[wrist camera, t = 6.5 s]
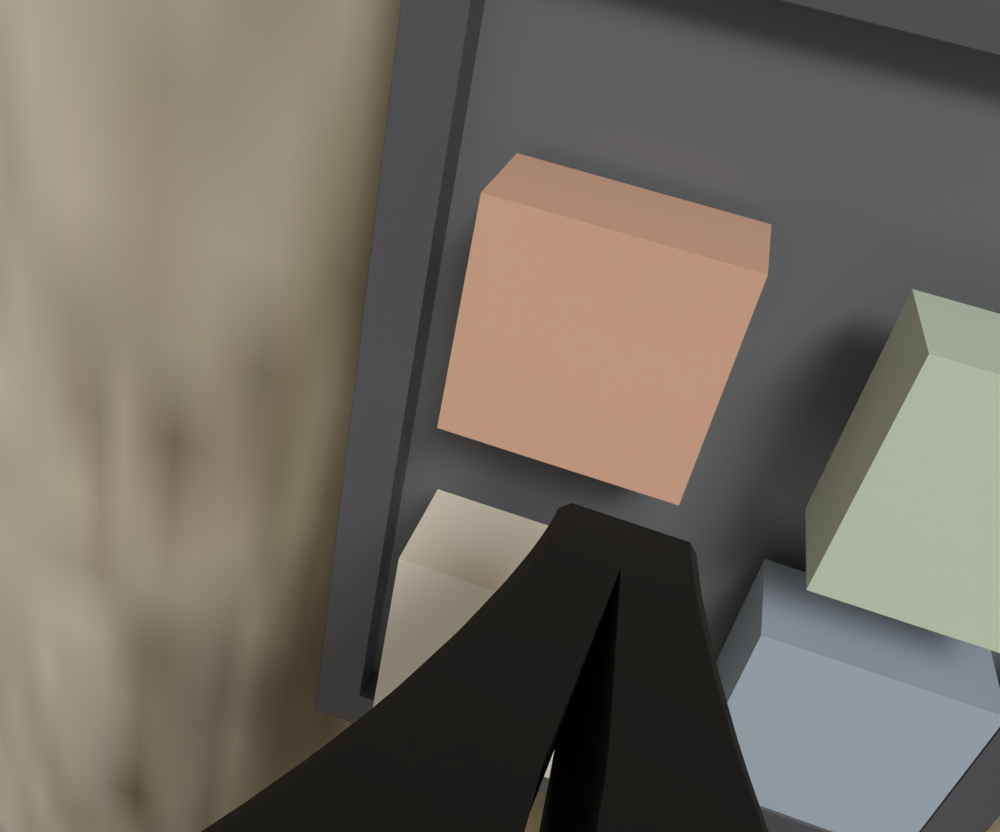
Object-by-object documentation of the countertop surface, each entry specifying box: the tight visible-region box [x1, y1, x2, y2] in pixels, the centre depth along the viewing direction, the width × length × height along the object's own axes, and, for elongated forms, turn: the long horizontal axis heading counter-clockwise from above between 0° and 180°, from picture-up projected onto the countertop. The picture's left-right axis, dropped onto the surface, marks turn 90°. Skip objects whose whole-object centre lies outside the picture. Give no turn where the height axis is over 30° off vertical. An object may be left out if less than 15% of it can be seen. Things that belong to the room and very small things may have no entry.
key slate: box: [716, 559, 1000, 832], centre depth 17 cm, size 4×4×2 cm
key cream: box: [373, 489, 554, 778], centre depth 17 cm, size 4×4×2 cm
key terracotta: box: [437, 153, 771, 505], centre depth 14 cm, size 4×4×2 cm
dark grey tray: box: [316, 0, 1000, 832], centre depth 17 cm, size 14×18×2 cm
